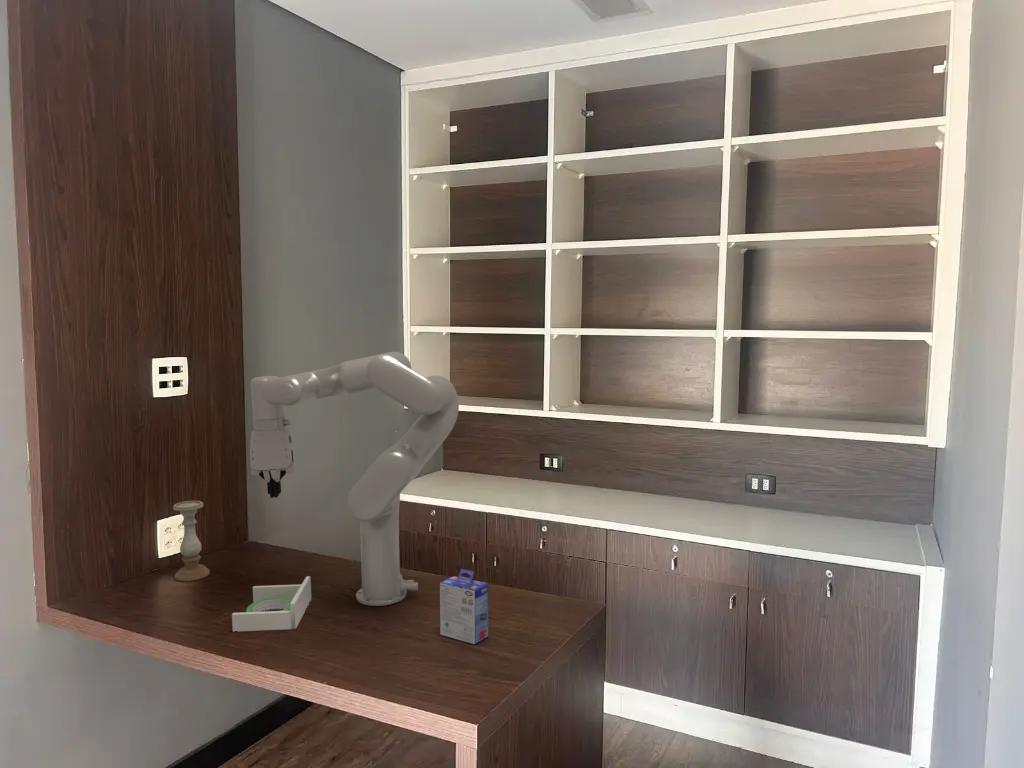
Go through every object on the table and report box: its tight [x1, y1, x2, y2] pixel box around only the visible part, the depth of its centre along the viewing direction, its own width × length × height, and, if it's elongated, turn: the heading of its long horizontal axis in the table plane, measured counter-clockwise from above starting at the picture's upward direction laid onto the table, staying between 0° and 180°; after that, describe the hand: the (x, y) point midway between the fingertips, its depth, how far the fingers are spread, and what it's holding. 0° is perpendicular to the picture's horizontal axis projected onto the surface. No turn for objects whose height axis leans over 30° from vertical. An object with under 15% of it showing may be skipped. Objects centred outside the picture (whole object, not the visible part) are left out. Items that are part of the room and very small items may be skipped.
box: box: [231, 575, 312, 632], centre depth 171 cm, size 14×17×6 cm
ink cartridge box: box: [439, 568, 489, 645], centre depth 158 cm, size 10×6×14 cm, turn 58°
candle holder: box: [172, 500, 211, 582], centre depth 196 cm, size 9×9×20 cm
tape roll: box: [245, 597, 292, 612], centre depth 170 cm, size 11×11×3 cm
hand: (274, 496), depth 182 cm, fingers closed
